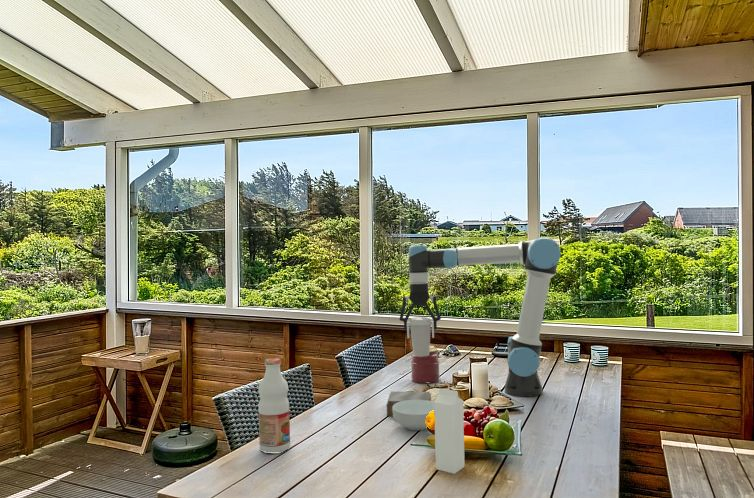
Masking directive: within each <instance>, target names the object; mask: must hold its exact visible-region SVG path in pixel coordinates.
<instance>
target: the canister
mask: <svg viewBox="0 0 754 498" xmlns="http://www.w3.org/2000/svg"><path fill="white" fill-rule="evenodd" d="M437 351H438V348H437V347H435V346H433V345H430V351H429V356H423V357H418V356H414V355H413V352H412V353H411V354H410V356H411V360H410V364H411V366H410V367H411V374H410V375H411V377H410V378H411V381H412V382H413V383H417V384H427V383H426V382H430V383H429V384H433V383H434V384H435V383H437V382H439V381H440V360H439V356H440V354H439V353H438V352H437Z"/></svg>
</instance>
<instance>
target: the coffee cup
mask: <svg viewBox="0 0 754 498" xmlns="http://www.w3.org/2000/svg"><path fill="white" fill-rule="evenodd" d="M408 322H409V331H410V335H411V336H410V337H411V345H412V347H411V348H412V353H413V355H414V356H418V357H423V356H429V351H430V346H431V333H432V319H431V318H430V317H428V316H427V317H426V316H417V317H411V318H410V320H409V321H408Z"/></svg>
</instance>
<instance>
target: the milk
mask: <svg viewBox="0 0 754 498" xmlns="http://www.w3.org/2000/svg"><path fill="white" fill-rule="evenodd" d="M433 402H434V415H435V425H434V445H435V446H434V447H435V451H434V453H435V470H437V471H438V470H439V471H441V472H445V473H449V474H452V475H453V474H454V475H455V474H457V473H458V472H459V471H461V470H462V469H464V468H465V464H466V463H465V434H464V433H465V431H464V429H465V425H464V399H462V398H461V397H459V392H458V390H454V389H446V388H438V395H437V396H436V398H435V399H434V401H433Z"/></svg>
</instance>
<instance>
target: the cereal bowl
mask: <svg viewBox="0 0 754 498" xmlns="http://www.w3.org/2000/svg"><path fill="white" fill-rule="evenodd" d="M432 410H434V401H433V400H431V401H427V400H406V401H401V402H398V403H396V404H394V405H393V407H392V411H393V416H392V417H393V418H394V421H395V422H396V423H398V424H399V425H400V426H403V427H405V428H406V429H408V430H411V431H424V429H425V430H427V429H426V424H425V419H426V416H427V415H428V414H429V412H430V411H432Z"/></svg>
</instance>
